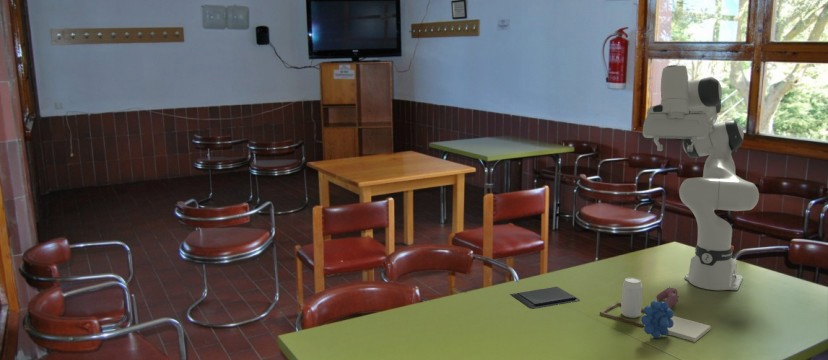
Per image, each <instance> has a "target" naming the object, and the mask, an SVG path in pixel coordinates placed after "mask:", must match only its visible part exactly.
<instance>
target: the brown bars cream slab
mask: <svg viewBox="0 0 828 360" xmlns="http://www.w3.org/2000/svg"><path fill="white" fill-rule="evenodd" d="M618 306H620V307H621V302H619V301H617V302H614V303H613V304H611V305H609V306H608V307H606V308H604V309H602V310H601V311H599V316H602V317H606V318H609V319H613V320H617V321H619V322H620V321H621V322H624V323H627V324H631V325H634V326H637V327H641V328H644V326H645V325H644V324H643V323H642V322H639V321H636V320H631V319H630V318H629V319H628V318H624V317H621V316H618V315H616V314H615V315H614V314H611V313H609V312H610V311H612V310H613V309H614V308H616V307H618ZM607 312H608V313H607ZM641 313H644V308H642V307H641ZM670 319H672V320H673V323H674V325H673V327H671V328H668V334H667V335H670V336H674V337H678V338H680V339H684V340H687V341H690V342H694V343H695V342H697V341H698V340H699V339H701V338H702V337H703V336H704V335H706V334H707V333H708V332H709V331H711V329H712V328H711V325H710V324H709V325H708V324H706V323H701V322H698V321H693V320H691V319H686V318H682V317H678V316H677V315H673V317H672V318H670Z"/></svg>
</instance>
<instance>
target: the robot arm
mask: <svg viewBox="0 0 828 360" xmlns="http://www.w3.org/2000/svg"><path fill="white" fill-rule="evenodd" d="M687 69H688V68H687V65H684V64H681V63H680V64H672V65H671V64H670V65H666V66H665V67H663V68H662V71H661V78H660V96H661V97H660V98H661V99H660V103H659V104H655V105H652V106H650V107H649V108H648V109H647V111H646V117H645V120H644V122H643V125H642V126H643V127H642V136H643V137H644V138H646V139H653V142H654V144H655V145H656V147H657V148H656V149H657V150H656V151H657V152H662V151H663V150H664V148H663V147H664V146H663V145H664V144H661V143H660V141H659V140H660V139H682V148H683V150H684V152H685V153H686V154H687V156H688V157H689V158H691V159H698V158H701V157H706V156H708V157H707V158H706V160H705V162H704V165H703V166H704V167H703V171H702V172H703V174H702V177H701V176H699V177H697V176H696V177H690V178H686V179H684V180H683V182H682V183H681V185H680V187H679V192H678V193H679V194H678V195H679V198H680V200H681V202H682V204H683V205H685V206H686V207H687V208H688V209H689V210H690V211H691V213H693V215H694V217H695V220H696V223H697V242H696V244H695V249H694V251H695V253H694V254H695V255H693V256H692V257H690V263H689V269H688V274H684V279H685V280H686V281H688V282H689V284H691V285H692V286H695V287H697V288H700V289H705V290H709V291H710V290H711V291H727V290H729V291H738V290H739V288H740V286H741V284H742V282H743V280H744V279H743V275H741V274H737V271H738V265H737V263H736V261H735V260H734V259H733V251H734V248H735V247H734V245H732V237H733V228H732V226H731V224H730V223H729V222H728V221H726V220H725V219H723V218H721V217H720V216H719V215H716V213H715V210H720V211H721V210H722V211H733V212H739V211H740V212H742V211H751V210H753V209H754V208H755V207H756V206H757V204H758V202H759V200H760V199H759V198H760V193H759V189H758V187H757V186H756V185H755V183H754V182H751V181H748V180H745V179H743V178H742V177H740V176H738V175H736V165H735V161H734V159H733V156H732V153H733V152H735V153H737V152H738V148H740V147H741V146H742V144H743V142H744V137H745V135H744V134H745V133H744V130H743V127H742V126H741V125H740V124H739V122H738V121H737V120H736V119H735V120H734V119H733V120H725V121H723V122H718V123H716V122H717V121H718V114H719V113H720V112H721V110H722V94H723V90H722V89H723V88H722V85H721V83H720V80H718V79H716V78H715V77H714V76H708V77H703V78H700V79H692V80H691V79H690V80H689V73H688V70H687Z"/></svg>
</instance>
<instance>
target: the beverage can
mask: <svg viewBox="0 0 828 360" xmlns="http://www.w3.org/2000/svg"><path fill="white" fill-rule="evenodd" d="M643 287H644V286H643V284H642V280H641V279H640V278H637V277H626V278H624V282H622V287H621V302H620V303H621V306H620V313H621V314H622V315H623V317H626V318H627V319H628V318H629V319H637V318H638V317H640V316H641V315H642V312H641V308H642V306H643V305H642V304H643V289H644V288H643Z"/></svg>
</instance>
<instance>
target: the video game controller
mask: <svg viewBox="0 0 828 360" xmlns="http://www.w3.org/2000/svg"><path fill="white" fill-rule="evenodd" d="M678 294H679V293H678V290H677V289H676V288H674V287H671V286H669V287H666V288H665V289H664V290H663V291H661V292H659V293H658V294H657V295H656V297H655V298H656V299H657V300H656V301H663V302H666V303H667V304H668V307H669V308H668V309H671V308H672V307H673V306H674V305H676V304H678V303H679V298H680V296H679V295H678Z"/></svg>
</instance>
